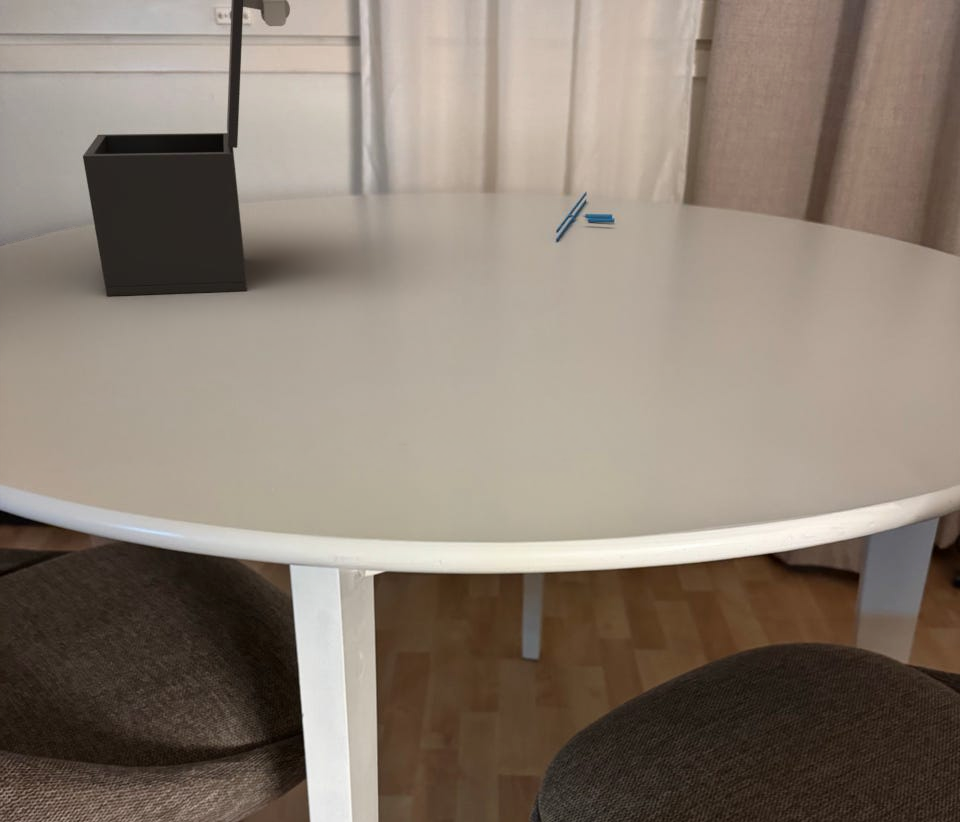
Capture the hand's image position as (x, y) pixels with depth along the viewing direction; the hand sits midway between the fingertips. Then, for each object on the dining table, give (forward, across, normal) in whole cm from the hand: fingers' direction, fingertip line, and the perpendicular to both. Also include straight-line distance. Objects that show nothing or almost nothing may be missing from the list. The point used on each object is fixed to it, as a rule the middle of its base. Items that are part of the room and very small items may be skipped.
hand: (273, 23), depth 94 cm
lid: (+2, 0, +4) cm, 5 cm away
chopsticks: (+22, +20, -37) cm, 47 cm away
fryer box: (+21, 0, +11) cm, 24 cm away
